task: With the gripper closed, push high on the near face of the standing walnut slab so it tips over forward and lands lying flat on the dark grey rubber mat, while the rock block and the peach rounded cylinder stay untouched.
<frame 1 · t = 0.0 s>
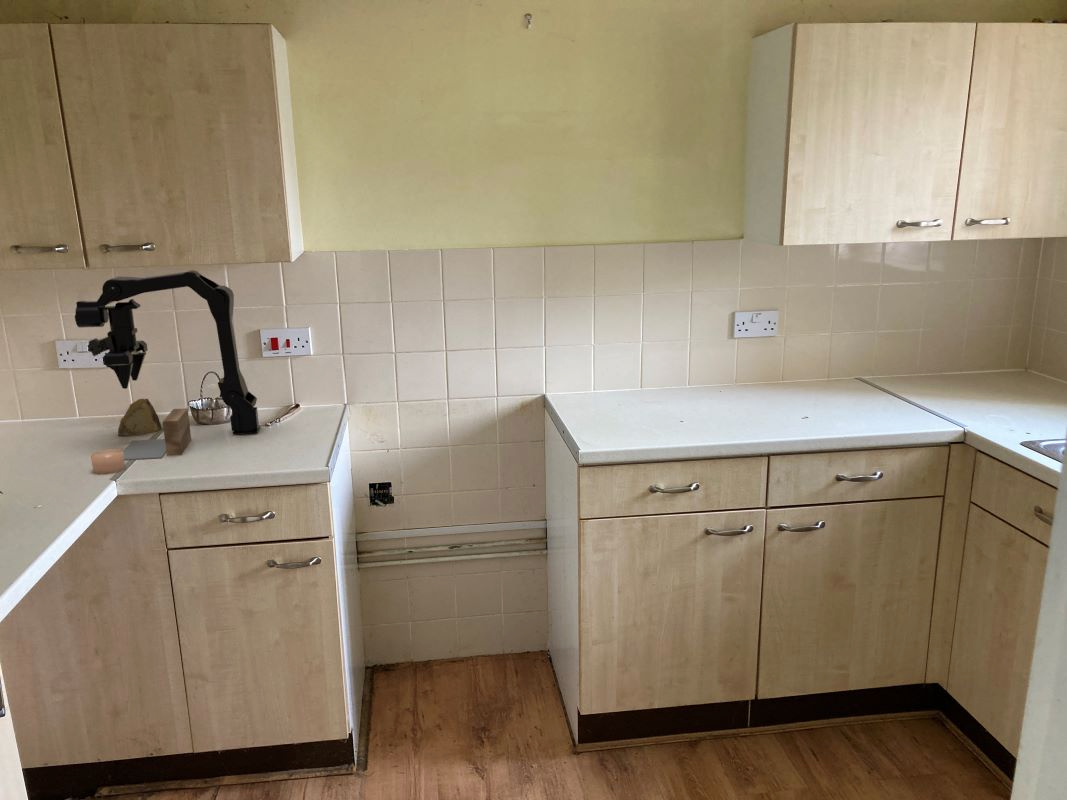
hand: (130, 384, 222), 15 cm above the counter, tool pointing down, fingers open, 9 cm apart
peach rounded cylinder: (109, 469, 201), on the counter
rock: (139, 433, 231), on the counter
slab: (179, 448, 217), on the counter
mat: (146, 449, 215), on the counter
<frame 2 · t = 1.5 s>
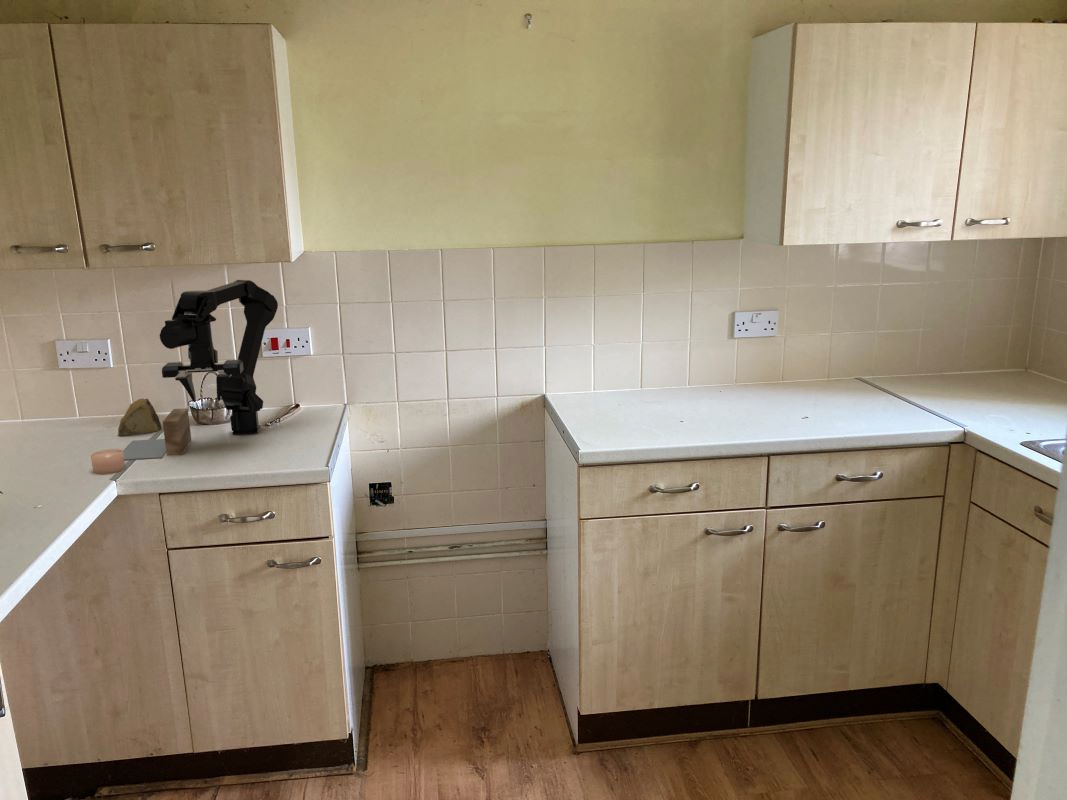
hand: (206, 401, 215), 12 cm above the counter, tool pointing down, fingers open, 6 cm apart
nothing on the counter moved.
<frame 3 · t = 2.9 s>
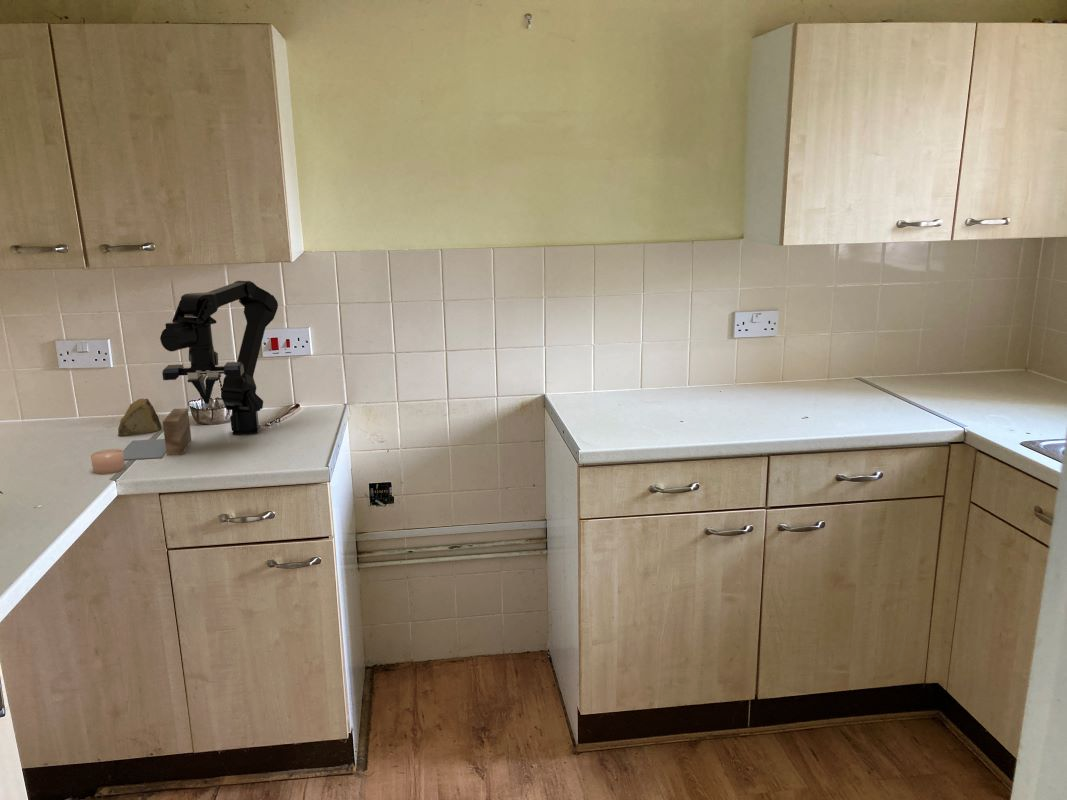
hand: (207, 403, 215), 11 cm above the counter, tool pointing down, fingers closed
nothing on the counter moved.
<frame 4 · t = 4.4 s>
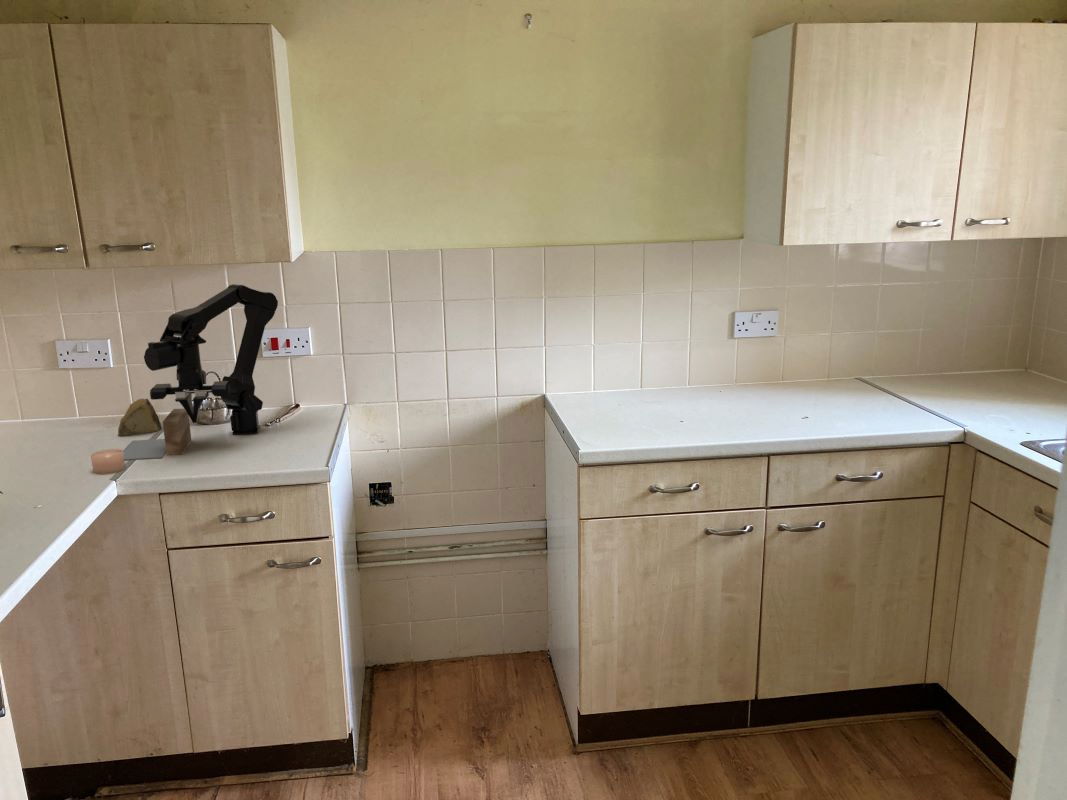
hand: (195, 422, 216), 7 cm above the counter, tool pointing down, fingers closed
nothing on the counter moved.
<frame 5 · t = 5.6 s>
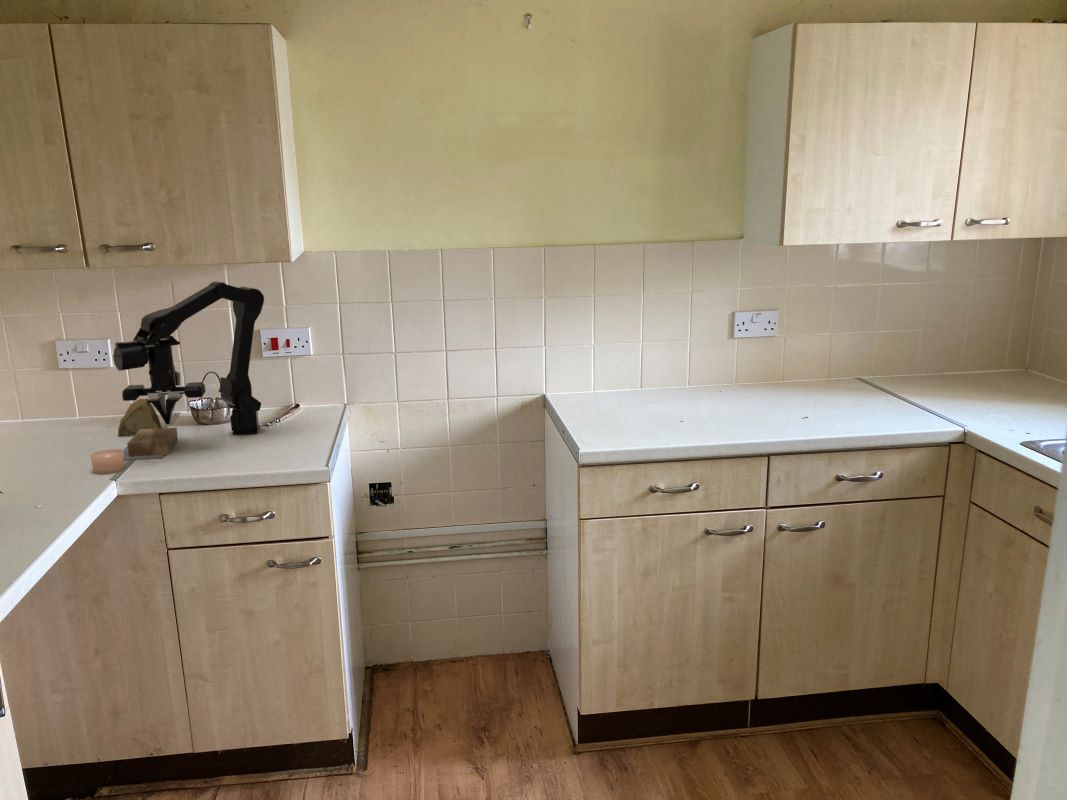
hand: (168, 423, 215), 7 cm above the counter, tool pointing down, fingers closed
slab: (171, 440, 216), point 2 cm above the counter, tilted 90°, touching mat
everything else where it was.
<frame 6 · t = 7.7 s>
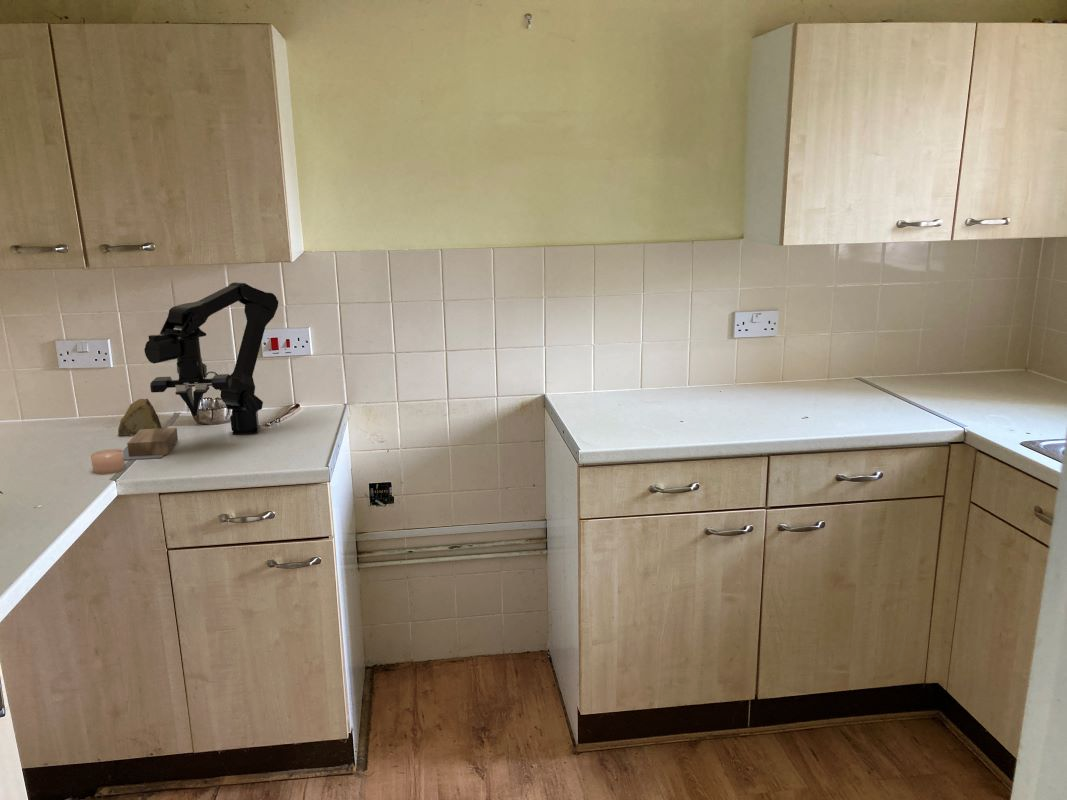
hand: (195, 415, 215), 8 cm above the counter, tool pointing down, fingers closed
nothing on the counter moved.
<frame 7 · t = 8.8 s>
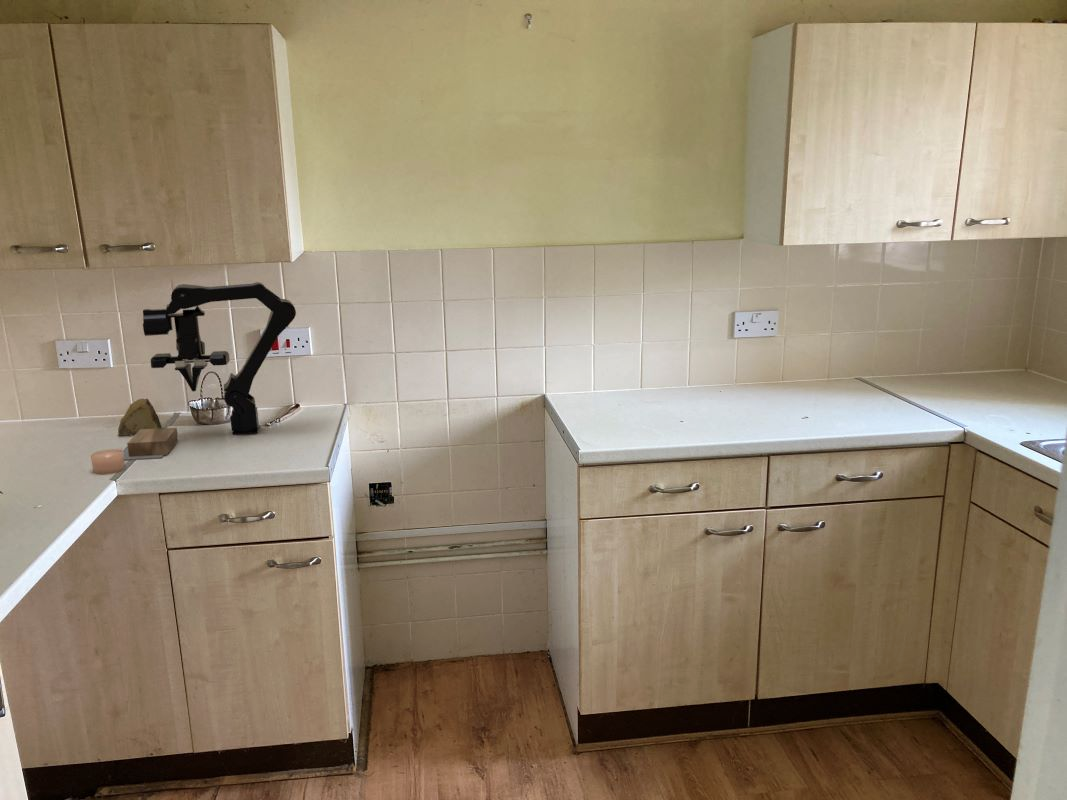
hand: (194, 391, 224), 13 cm above the counter, tool pointing down, fingers closed
nothing on the counter moved.
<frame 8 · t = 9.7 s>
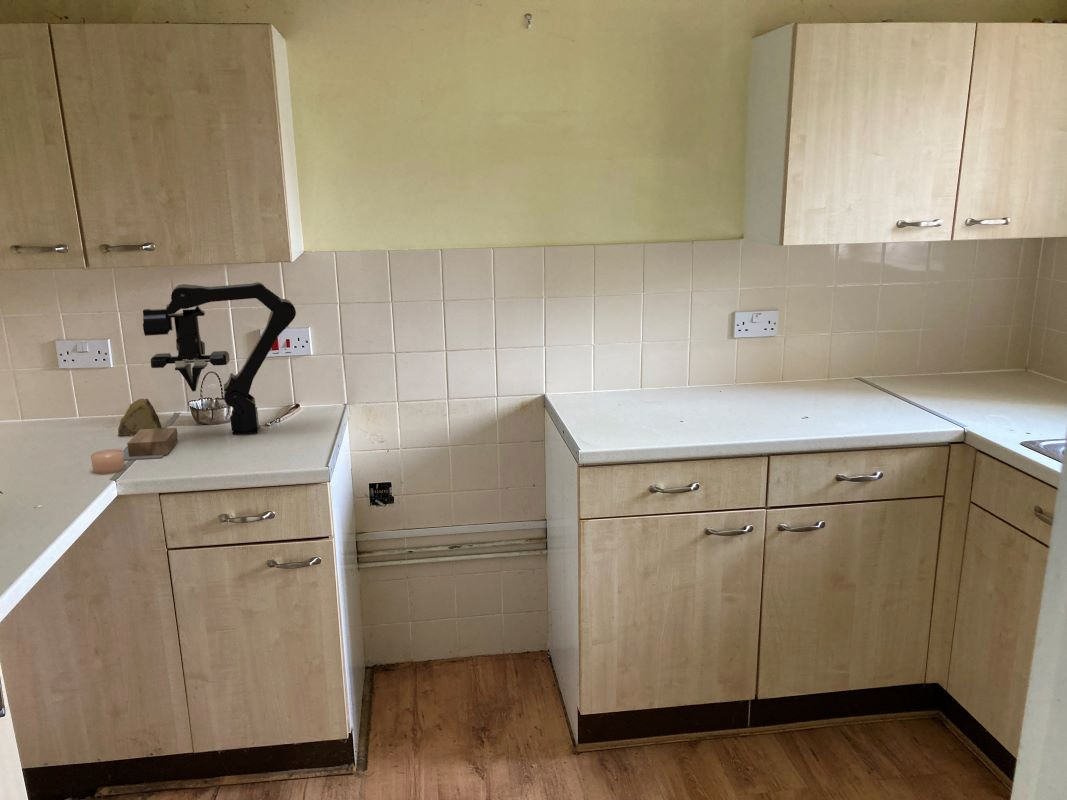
hand: (194, 391, 224), 13 cm above the counter, tool pointing down, fingers closed
nothing on the counter moved.
at the end: slab tilted 90°; slab inside the target area (6.9 cm from its centre), point 2.0 cm above the counter; slab touching mat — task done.
